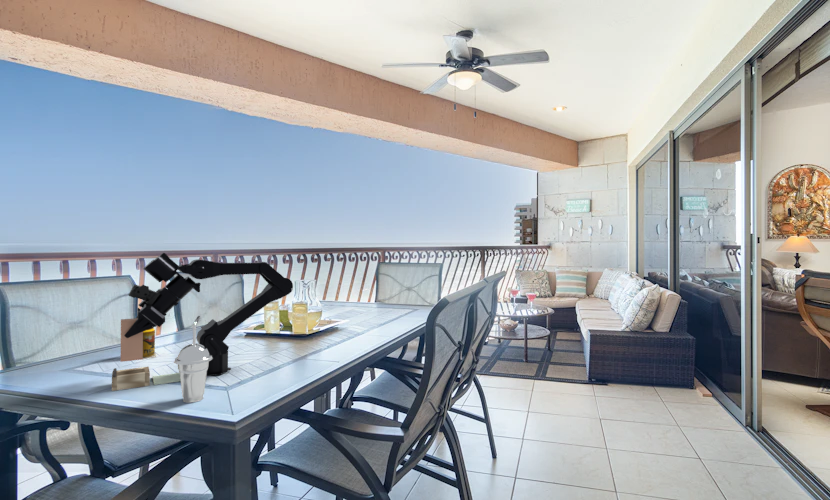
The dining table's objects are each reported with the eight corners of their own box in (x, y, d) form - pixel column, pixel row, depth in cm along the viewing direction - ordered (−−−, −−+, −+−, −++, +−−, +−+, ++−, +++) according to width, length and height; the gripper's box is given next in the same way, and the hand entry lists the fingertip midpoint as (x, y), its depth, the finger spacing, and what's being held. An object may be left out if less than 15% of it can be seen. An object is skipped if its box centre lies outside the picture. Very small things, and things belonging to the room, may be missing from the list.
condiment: (156, 357, 145) (156, 322, 145) (126, 360, 140) (126, 324, 140) (155, 353, 151) (155, 319, 151) (126, 356, 146) (127, 321, 146)
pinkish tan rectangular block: (142, 356, 118) (142, 317, 118) (142, 359, 116) (142, 319, 116) (120, 359, 115) (120, 319, 115) (120, 361, 113) (120, 320, 113)
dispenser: (148, 378, 121) (148, 364, 121) (149, 385, 115) (149, 370, 115) (112, 383, 116) (112, 368, 116) (111, 391, 110) (111, 375, 110)
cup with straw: (165, 404, 101) (166, 321, 101) (191, 391, 110) (192, 315, 110) (196, 406, 99) (197, 322, 99) (220, 394, 108) (221, 316, 108)
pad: (182, 373, 126) (182, 372, 126) (185, 380, 119) (185, 379, 119) (152, 377, 122) (152, 376, 122) (154, 385, 115) (154, 383, 115)
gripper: (147, 272, 125) (101, 312, 119) (150, 275, 110) (97, 321, 104) (177, 297, 130) (134, 337, 124) (184, 304, 114) (135, 349, 108)
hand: (125, 335), depth 115 cm, fingers closed on pinkish tan rectangular block, 3 cm apart
